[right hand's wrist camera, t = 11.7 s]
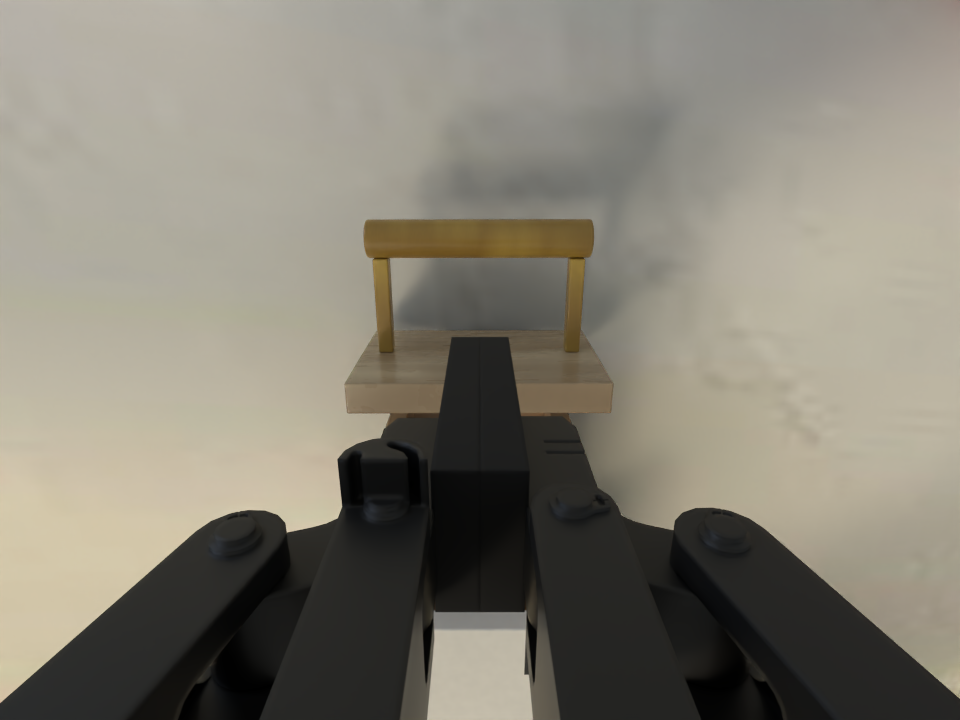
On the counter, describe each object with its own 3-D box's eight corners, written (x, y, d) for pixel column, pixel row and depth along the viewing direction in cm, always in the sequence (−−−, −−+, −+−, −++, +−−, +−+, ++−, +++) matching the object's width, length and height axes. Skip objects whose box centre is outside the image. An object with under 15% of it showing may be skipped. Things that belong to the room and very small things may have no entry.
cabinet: (381, 504, 30) (345, 630, 22) (577, 504, 30) (613, 629, 22) (400, 759, 37) (378, 924, 29) (559, 758, 37) (581, 924, 29)
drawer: (368, 212, 24) (329, 231, 18) (589, 212, 24) (627, 230, 18) (397, 640, 32) (378, 752, 26) (561, 640, 32) (580, 752, 26)
